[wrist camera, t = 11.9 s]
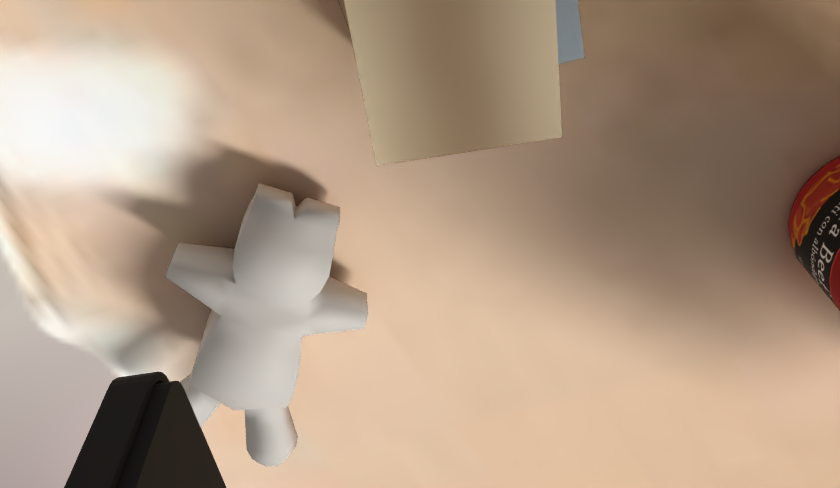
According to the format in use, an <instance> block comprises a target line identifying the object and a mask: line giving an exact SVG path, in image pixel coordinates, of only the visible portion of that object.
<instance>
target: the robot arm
mask: <svg viewBox="0 0 840 488" xmlns="http://www.w3.org/2000/svg"><path fill="white" fill-rule="evenodd" d="M64 488H226V486H225V483H224V481H223V479H222V476H221V474H220V472H219V469H218V467H217V465H216V462H215V460H214V458H213V455H212V453H211V451H210V448H209V446H208V444H207V441H206V439H205V436H204V434H203V432H202V429H201V427H200V425H199V422H198V420H197V418H196V415H195V413H194V411H193V408H192V406H191V404H190V401H189V399H188V397H187V394H186V392H185V390H184V388H183V386H182V384H181V383H180V382H179V381H171V382H169V380H168V378H167V376H166V375H165V374H163V373H162V372H153V373H146V374H140V375H133V376H126V377H119V378H116V379H114V380H113V381H112V383H111V384H110V386H109V388H108V390H107V392H106V394H105V397H104V399H103V401H102V403H101V406H100V408H99V410H98V413H97V415H96V417H95V419H94V421H93V424H92V426H91V428H90V431H89V433H88V435H87V437H86V440H85V442H84V444H83V446H82V449H81V451H80V453H79V455H78V458H77V460H76V462H75V465H74V467H73V469H72V471H71V474H70V476H69V478H68V481H67V483H66V485H65V487H64Z"/></svg>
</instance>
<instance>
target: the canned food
mask: <svg viewBox="0 0 840 488" xmlns="http://www.w3.org/2000/svg"><path fill="white" fill-rule="evenodd" d="M789 233H790V239H791V243H792V247H793V249H794V252H795V254H796V257H797V259H798V260H799V261H800V262H801V264H802V265H803V266H804V268H805V269H806V270H807V271H808V272H809V274H810V275H811V276H812V277H813V279H814V280H815V281H816V282H817V283H818V285H819V286H820V287H821V288H822V289H823V291H824V292H825V293H826V294H827V296H828V297H829V298H830V299H831V300H832V302H833V303H834V304H835V305H836V307H837V308H838V309H839V310H840V157H838V158H836V159H835V160H833V161H831V162H830V163H828V164H827V165H825V166H824V167H822V168H821V169H820V170H819V171H818V172H817V173H816V174H815V175H813V176H812V177H811V178H810V179H809V181H808V182H807V183H806V184H805V185H804V187H803V188H802V189H801V191H800V193H799V194H798V196H797V198H796V200H795V201H794V204H793V207H792V210H791V213H790V218H789Z"/></svg>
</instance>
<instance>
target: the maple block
mask: <svg viewBox="0 0 840 488" xmlns="http://www.w3.org/2000/svg"><path fill="white" fill-rule="evenodd" d="M344 3H345V8H346V13H347V18H348V23H349V29H350V34H351V39H352V44H353V49H354V54H355V59H356V64H357V69H358V74H359V79H360V84H361V90H362V95H363V100H364V105H365V110H366V115H367V120H368V125H369V130H370V135H371V140H372V145H373V151H374V156H375V161H376V166H379V165H385V164H392V163H398V162H405V161H411V160H418V159H424V158H431V157H437V156H444V155H450V154H457V153H463V152H470V151H476V150H483V149H489V148H496V147H502V146H509V145H515V144H522V143H528V142H535V141H541V140H548V139H554V138H561V137H562V125H561V104H560V84H559V63H558V43H557V23H556V2H555V0H344Z"/></svg>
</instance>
